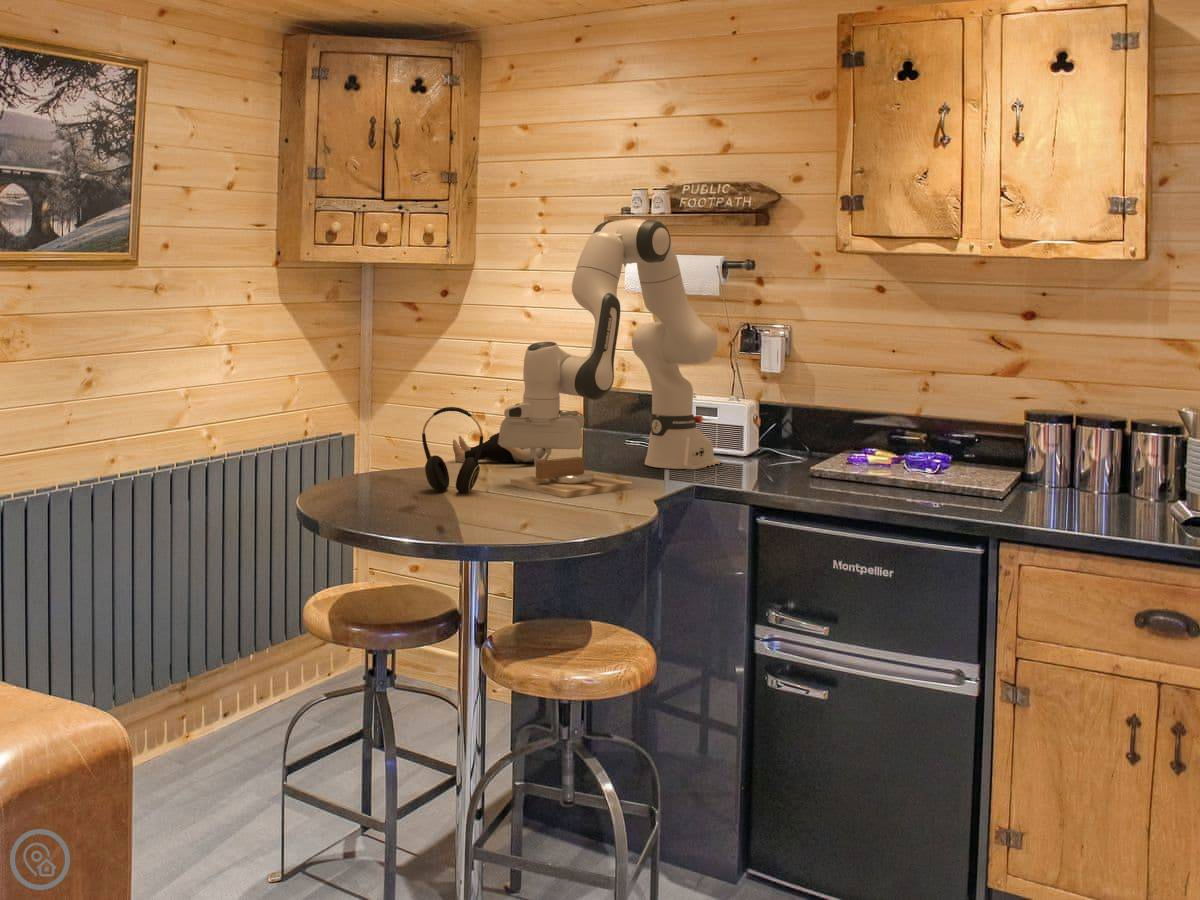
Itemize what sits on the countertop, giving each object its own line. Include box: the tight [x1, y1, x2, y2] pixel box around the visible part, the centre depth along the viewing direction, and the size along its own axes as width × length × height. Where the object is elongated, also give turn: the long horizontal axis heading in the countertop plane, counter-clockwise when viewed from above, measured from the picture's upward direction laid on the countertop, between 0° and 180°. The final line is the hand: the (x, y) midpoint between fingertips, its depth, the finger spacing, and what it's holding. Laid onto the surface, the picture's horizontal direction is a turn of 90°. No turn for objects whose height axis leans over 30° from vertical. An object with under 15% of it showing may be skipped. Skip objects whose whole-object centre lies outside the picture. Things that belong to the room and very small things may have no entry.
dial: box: [535, 456, 595, 483], centre depth 270 cm, size 16×11×5 cm
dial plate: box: [509, 474, 633, 499], centre depth 272 cm, size 21×21×2 cm
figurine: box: [452, 432, 546, 464], centre depth 309 cm, size 23×10×30 cm
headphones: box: [421, 406, 484, 494], centre depth 261 cm, size 9×15×20 cm, turn 80°
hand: (540, 466), depth 272 cm, fingers closed
